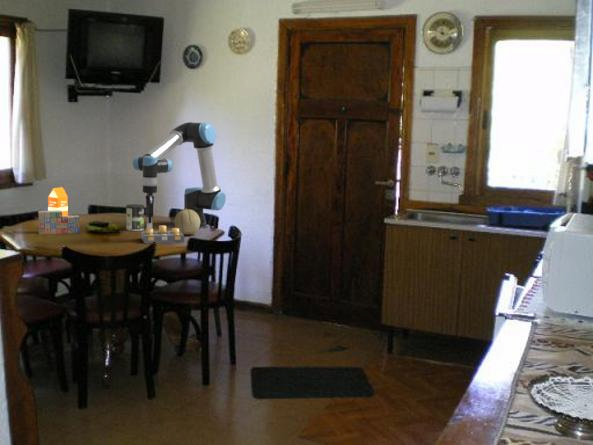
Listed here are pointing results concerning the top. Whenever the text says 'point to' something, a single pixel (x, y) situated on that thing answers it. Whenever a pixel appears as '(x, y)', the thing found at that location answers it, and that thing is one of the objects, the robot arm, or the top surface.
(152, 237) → the button board
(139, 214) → the coffee can
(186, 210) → the cantaloupe
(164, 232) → the button mid
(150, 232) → the button
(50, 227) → the stack of blocks
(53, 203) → the orange juice
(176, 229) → the button
